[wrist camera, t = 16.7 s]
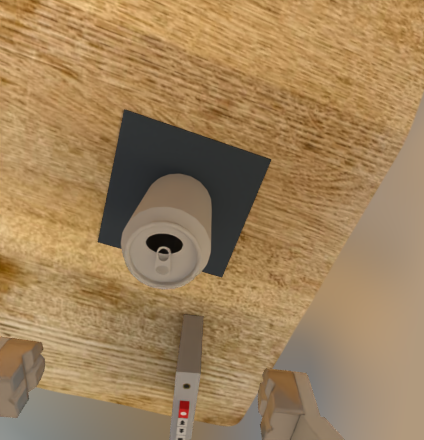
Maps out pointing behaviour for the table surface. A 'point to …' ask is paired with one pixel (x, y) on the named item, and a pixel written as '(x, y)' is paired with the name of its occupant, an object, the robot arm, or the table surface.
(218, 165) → the mat
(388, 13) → the table surface
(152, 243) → the can
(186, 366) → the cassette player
